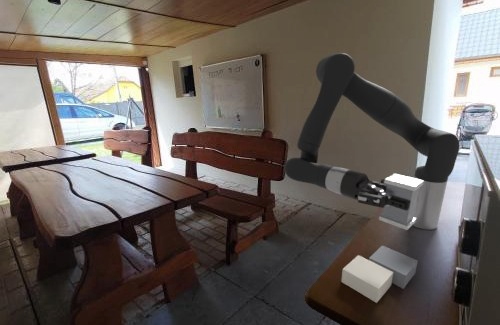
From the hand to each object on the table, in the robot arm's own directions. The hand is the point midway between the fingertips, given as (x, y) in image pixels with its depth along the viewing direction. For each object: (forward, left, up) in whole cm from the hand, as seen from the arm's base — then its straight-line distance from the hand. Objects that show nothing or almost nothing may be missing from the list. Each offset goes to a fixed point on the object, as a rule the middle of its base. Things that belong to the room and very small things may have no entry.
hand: (412, 202), depth 61 cm
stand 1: (+8, -5, -22) cm, 24 cm away
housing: (0, -3, -6) cm, 7 cm away
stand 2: (-1, -2, -22) cm, 22 cm away
